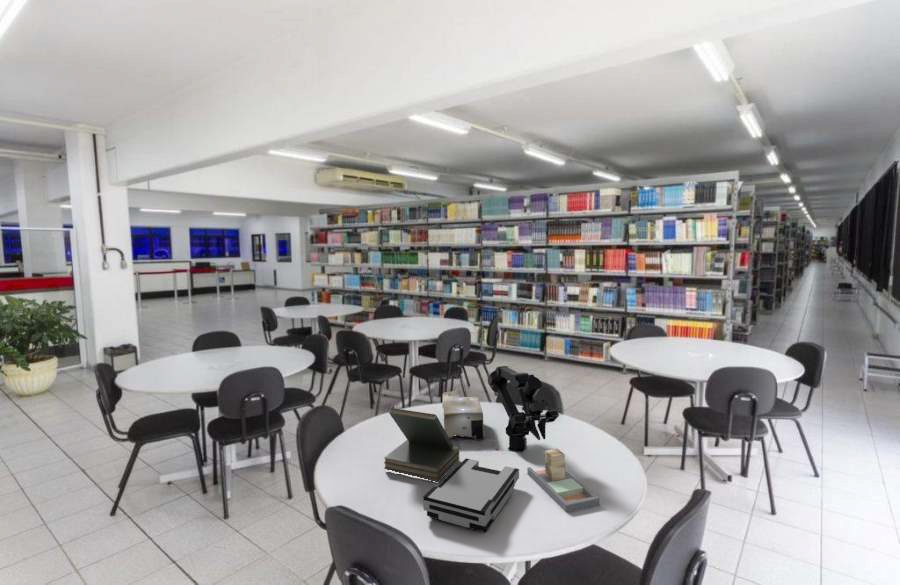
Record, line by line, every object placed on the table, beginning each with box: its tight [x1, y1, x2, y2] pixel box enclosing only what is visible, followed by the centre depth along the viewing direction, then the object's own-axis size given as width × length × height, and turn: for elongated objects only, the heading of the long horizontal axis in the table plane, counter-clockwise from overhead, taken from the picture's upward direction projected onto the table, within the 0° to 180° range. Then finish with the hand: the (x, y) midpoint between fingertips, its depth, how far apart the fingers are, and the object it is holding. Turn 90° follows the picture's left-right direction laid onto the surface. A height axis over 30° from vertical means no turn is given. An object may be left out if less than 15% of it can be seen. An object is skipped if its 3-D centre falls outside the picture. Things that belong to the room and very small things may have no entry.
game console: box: [423, 457, 520, 533], centre depth 155 cm, size 21×32×8 cm, turn 154°
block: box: [544, 448, 566, 481], centre depth 167 cm, size 5×5×9 cm
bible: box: [383, 407, 460, 482], centre depth 181 cm, size 23×20×25 cm
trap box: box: [526, 466, 600, 513], centre depth 164 cm, size 27×12×2 cm, turn 17°
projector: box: [441, 389, 485, 441], centre depth 221 cm, size 18×33×13 cm, turn 2°
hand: (542, 439), depth 175 cm, fingers closed
